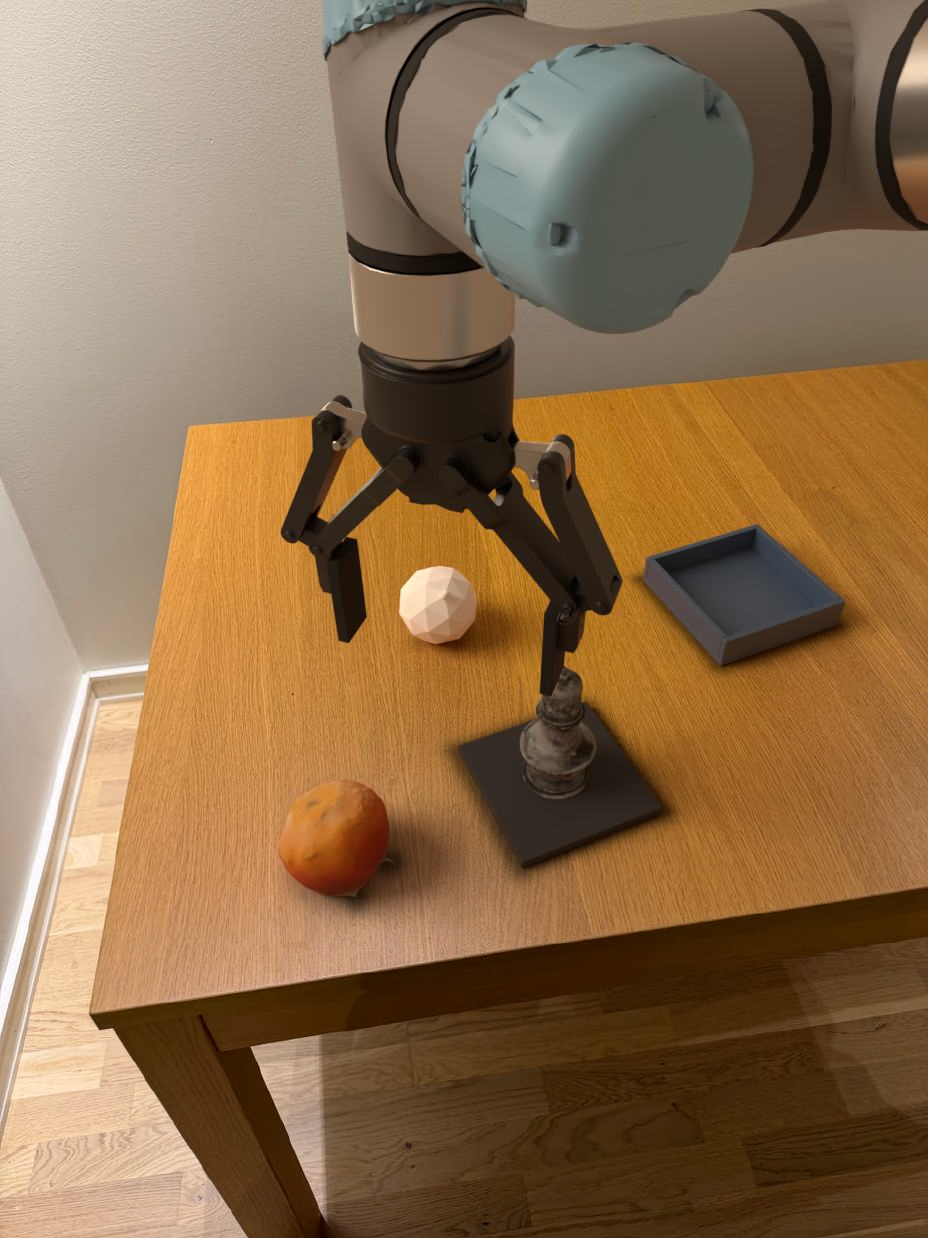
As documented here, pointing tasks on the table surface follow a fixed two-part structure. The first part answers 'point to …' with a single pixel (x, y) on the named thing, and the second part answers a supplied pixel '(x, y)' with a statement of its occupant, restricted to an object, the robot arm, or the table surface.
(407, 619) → the ornament
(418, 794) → the table surface
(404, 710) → the table surface
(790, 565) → the tray
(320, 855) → the fruit
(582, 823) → the mat
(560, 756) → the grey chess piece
